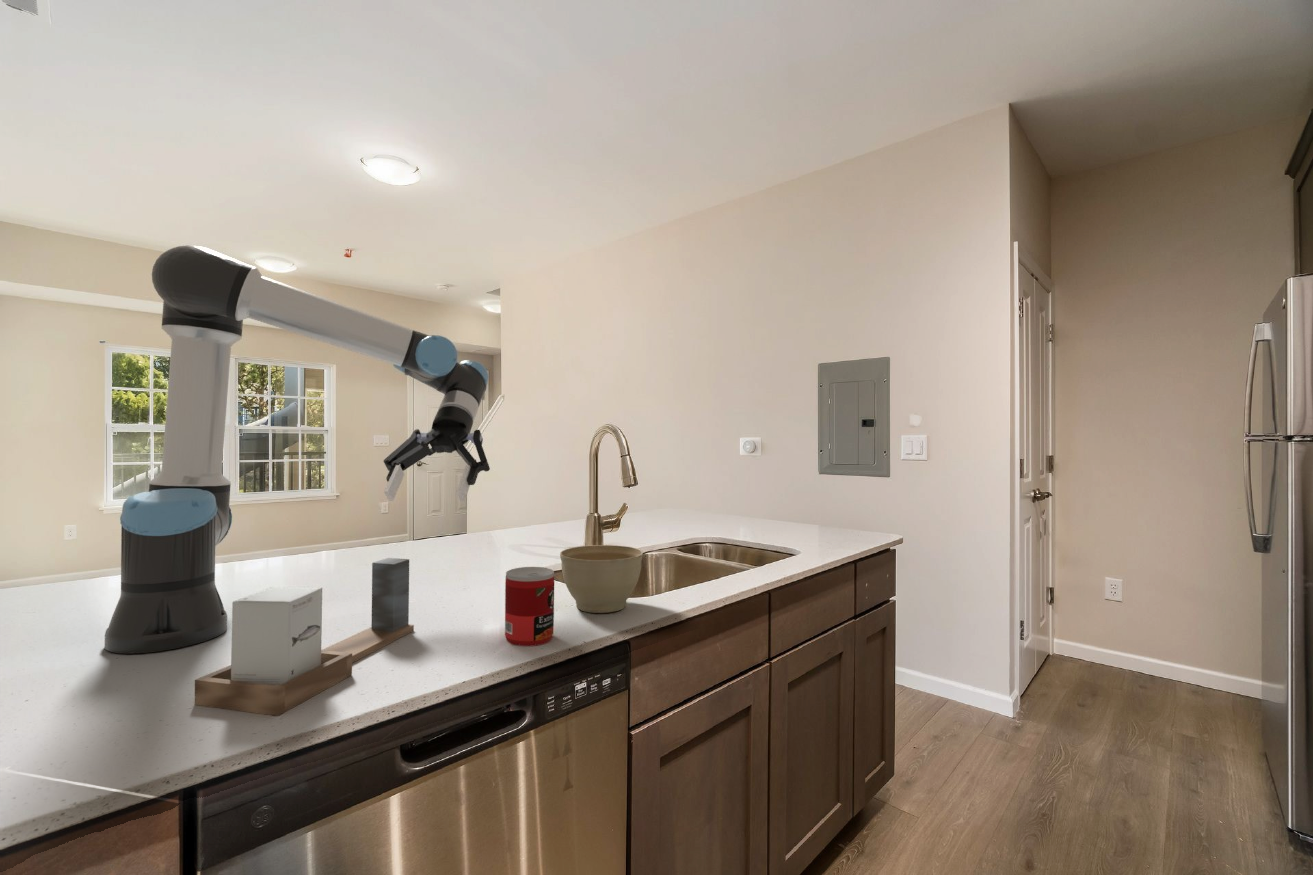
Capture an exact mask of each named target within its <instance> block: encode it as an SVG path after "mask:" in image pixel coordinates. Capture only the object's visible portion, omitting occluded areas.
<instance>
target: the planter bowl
mask: <svg viewBox="0 0 1313 875" xmlns="http://www.w3.org/2000/svg"><path fill="white" fill-rule="evenodd" d="M559 555H560V556H559V557H560V561H561V571H562V577H563V580H564V583H565V585H566V588H567V590H568V592H569V593H570V596H571V597H572V598H573V599H574V601H575V604H576V608H577V609H578V610H580V611H582V612H585V613H590V614H593V613H597V614H603V613H604V614H605V613H615V612H617V611H620V610H623V609H624V608H625V607H626V605H627V600H628V599H629V598H630V596H631V595H632V594H633V592H634V590H635V588H636V586H637V583H638V582H639V579H640V575H641V570H642V560H643V557H644V552H643V550H641V549H640V548H637V547H632V546H627V545H613V544H612V545H611V544H608V545H607V544H605V545H604V544H599V545H597V544H594V545H581V546H574V547H568V548H565V549H563V550H561V551H560V554H559Z"/></svg>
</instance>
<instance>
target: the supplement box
mask: <svg viewBox="0 0 1313 875" xmlns="http://www.w3.org/2000/svg"><path fill="white" fill-rule="evenodd" d="M231 610H232V611H231V613H232V614H231V617H232V618H231V654H230V656H231V661H230V665H231V680H235V681H243V682H251V683H259V684H268V685H276V686H279V685H281V684H283V683H285V682H287V681H289V680H291V679H293V678H295V677H297V676H299V675H301V674H303V673H305V672H307V671H309V670H311V669H313V668H315V667H317V666H319V665H321V650H322V639H323V638H322V635H323V634H322V630H323V628H322V625H323V622H322V621H323V587H320V586H319V587H316V586H315V587H314V586H312V587H310V586H307V587H306V586H271V587H268V588H265V589H263V590H261V591H257V592H255V593H253V594H249V595H247V596H245V597H241V598H239V599H237V600H233V601H232V608H231Z"/></svg>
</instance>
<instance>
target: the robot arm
mask: <svg viewBox="0 0 1313 875" xmlns="http://www.w3.org/2000/svg"><path fill="white" fill-rule="evenodd" d="M261 273H262V272H260V270H259V269H258V267H256V266H254V265H250V264H248V263H244V262H242V261H240V260H237V259H236V258H233V257H230V256H228V255H225V254H223V253H220V252H218V251H215V250H212V249H210V248H208V247H203V246H199V245H198V246H197V245H190V244H189V245H187V244H186V245H179V246H176V247H172V248H170V249H167V250H166V251H165V252H163V253H161V254H160V255H159V257H157V259H156V260H155V262H154V264H153V266H152V271H151V282H152V284H153V288H154V290H155V291H156V292H157V295H158V296H159V297H160V298H161V299H162V301H163V302H162V316H161V318H162V319H161V329H162V330H163V331H164V332H165V334H167V335H168V336H169V337H170V339H171V346H170V357H169V358H170V360H169V371H168V383H167V384H168V385H167V398H166V410H165V424H164V434H163V435H164V436H163V448H162V461H161V462H162V463H161V472H159V474H158V475H156V476H155V477H154V478H153V479H151V480H150V481H149V482H148V483H149V485H148V491H144V492H140V493H139V492H138V493H136V494H132V495H131V496H129V497H127V499H126V500H125V501H124V502H123V504H122V508H121V509H122V510H121V514H120V516H119V520H120V523H119V524H120V525H121V529H120V530H121V536H120V538H121V539H120V540H121V546H120V548H121V549H120V550H121V552H120V563H121V564H120V597H119V599H118V601H117V604H116V606H115V609H114V611H113V614H112V617H111V619H110V622H109V625H108V627H107V628H106V629H105V632H104V649H105V650H106V651H108V652H110V653H114V654H127V655H129V654H133V655H135V654H146V653H157V652H164V651H168V650H175V649H179V648H185V647H188V646H193V645H196V644H200V643H204V642H205V641H208V640H209V641H210V640H212V639H215V638H216V637H218V636H220V635H222V634H224V633H225V632H226V631H227V630H228V613H227V611H226V610H225V608H224V604H223V601H222V599H221V596H220V593H219V591H218V589H217V586H216V582H215V581H216V546H217V545H219V544H220V543H221V542H223V540H224V539H225V538H226V536H227V535H228V533H229V531H230V530H231V526H232V522H233V514H232V509H231V507H230V498H231V481H230V480H229V479H227V477H226V476H225V475H223V473H222V472H223V471H222V470H223V458H224V457H223V456H224V445H225V444H224V442H225V430H226V429H225V428H226V419H227V418H226V416H227V405H228V391H229V380H230V379H229V378H230V364H231V350H232V346H233V345H234V344H236V343H237V342H239V341H241V340H242V336H243V325H244V324H243V323H244V320H246V319H251V320H254V321H257V322H261V323H263V324H267V325H269V326H270V325H271V326H274V327H276V328H280V329H282V330H285V331H289V332H291V333H294V334H298V335H302V336H304V337H307V338H311V339H313V340H317V341H320V342H323V343H327V344H329V345H332V346H336V347H338V348H341V349H342V348H343V349H345V350H348V351H351V352H355V353H358V354H361V355H364V356H367V357H370V358H373V359H376V360H380V361H382V362H386V363H388V364H391V365H393V367H394V368H395V369H397V370H398V371H400V372H402V373H403V374H404V375H405V376H409V377H410V378H413V379H415V380H417V381H419V382H421V383H423V384H425V385H426V386H429V387H430V388H432V389H434V390H435V391H436V392H438V393H441V394H443V395H444V396H443V398H442V400H441V402H440V405H439V406H438V409H437V412H436V414H435V416H434V418H433V422H432V424H431V429H430V430H429V431H428V432H421V430H420V429H418V428H417V429H416V428H415V429H414V431H413V432H412V433H411V435H410V436H409V437H408V439H406V440H405V441H403V442H402V444H400V445H399V446H398V447H396V448H395V450H394V451H392V452H391V453H390V454H389V455H388V456H387V457H385V458H384V459H383V463H384V466H385V467H386V469H387V471H388V473H387V476H386V479H385V480H386V481H387V484H386V486H385V488H384V490H383V493H384V495H385V496H386V498H387V499H388V501H389V502H390V501H394V500H395V497H396V495H397V493H398V490H399V488H400V485H401V484H402V481H403V479H404V477H405V473H404V471H405V470H407V469H408V468H410V467H412V466H414V464H417V463H418V462H420V461H421V460H423V459H425V458H426V457H427V456H433V454H435V453H436V454H441V453H442V454H443V453H447V454H452V453H454V452H456V453H457V454H458V455H459V456H460V457H461V458H462V459H463V460H464V462H465V463H466V464H467V465H465V467H464V470H463V473H462V476H461V479H460V481H459V485H458V487H457V491H456V494H457V496H458V498H459V500H460V502H466V499H467V495H468V494H469V489H470V487H471V486H474V485H476V484H475V483H476V481H477V478H478V476H479V473H481V472H482V471H484V472H489V471H490V469H491V468H490V464H489V462H488V459H487V457H486V453H485V451H484V447H483V443H484V442H483V440H484V439H483V435H482V433H481V429H475V430H474V431H473V432H472V433H471V430H472V427H473V424H474V422H475V420H476V417H477V413H478V411H479V407H480V405H481V402H482V400H483V397H484V394H485V392H486V390H487V385H488V381H489V373H488V370H487V368H486V367H485V366H484V365H483V364H482V363H480V362H478V361H476V360H475V361H474V360H469V359H466V360H461V361H460V362H458V357H459V356H458V350H457V348H456V346H455V344H454V342H452V341H451V340H450V339H449V338H447V337H445V336H443V335H434V334H433V335H428V334H426V333H423V332H420V331H418V330H415V329H412V328H410V327H406V326H403V325H401V324H398V323H395V322H392V321H390V320H386V319H384V318H381V317H378V316H376V315H373V314H370V313H367V312H364V311H362V310H359V309H355V308H353V307H350V306H348V305H345V304H342V303H339V302H336V301H333V300H331V299H328V298H326V297H323V296H320V295H317V294H314V293H311V292H309V291H305V290H303V289H300V288H298V287H297V288H296V286H295V287H294V286H292V285H288V284H286V283H284V282H280V281H277V280H275V279H272V278H269V277H266V276H263V275H262V274H261ZM469 441H470V442H471V444H473V445H474V446H475V448H476V452H477V455H478V458H479V461H477V459H475V458H474V457H473V455H472V454H471V453H470V452H469V450H468V449H467V448H466V447H465V445H466V444H467V443H468V442H469ZM429 445H430V446H429ZM430 447H431V448H430Z"/></svg>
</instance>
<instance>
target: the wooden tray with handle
mask: <svg viewBox="0 0 1313 875" xmlns="http://www.w3.org/2000/svg"><path fill="white" fill-rule="evenodd" d="M371 566H372V567H371V569H372V570H371V627H368V628H367V629H364V630H363V631H360V632H357V633H356V634H353V635H351V636H349V637H347V638H345V639H342V640H340V641H338V642H336V643H334V644H332V645H329V646H328V647H325V648H323V649H321V665H319V666H317V667H315V668H313V669H311V670H309V671H307V672H305V673H303V674H301V675H299V676H297V677H295V678H293V679H291V680H289V681H287V682H285V683H283V684H281V685H279V686H276V685H268V684H259V683H251V682H243V681H235V680H231V664H230V665H228V666H225V667H223V668H220V669H217V670H216V671H212V672H210V673H207V674H205V675H203V676H200V677H198V678H196V679H194V705H195V706H201V707H209V708H210V707H211V708H216V709H225V710H230V711H232V710H233V711H240V712H246V713H247V712H248V713H254V714H262V715H267V716H276V717H278V716H280V715H282V714H283V713H285V712H287V711H289V710H291V709H293V708H294V707H296V706H298V705H300V704H302V703H304V702H306V701H308V700H309V699H311V698H312V697H315V696H317V695H318V694H320V693H321V692H324V691H326V690H327V689H329V688H331V687H333V686H335V685H336V684H338V683H340V682H342V681H344V680H345V679H348V678H349V677H352V676H353V663H354V662H357V661H359V660H361V659H362V658H364V657H366V656H368V655H370V654H372V653H374V652H376V651H378V650H379V649H381V648H383V647H385V646H387V645H390V644H391V643H393V642H395V641H397V640H399V639H401V638H402V637H405V636H407V635H409V634H410V633H412V632H414V629H415V625H414V624H409V621H410V620H409V618H410V617H409V616H410V615H409V612H410V610H409V609H410V608H409V607H410V605H409V604H410V559H409V558H394V557H387V558H384V559H381V560H378V561H377V560H376V561H374V562H372V563H371Z"/></svg>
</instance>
